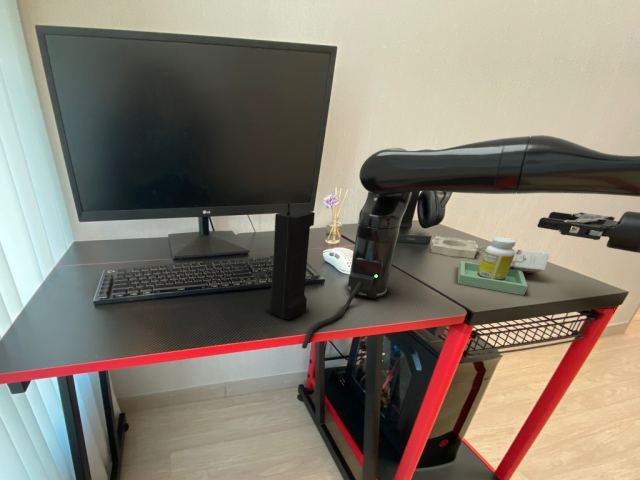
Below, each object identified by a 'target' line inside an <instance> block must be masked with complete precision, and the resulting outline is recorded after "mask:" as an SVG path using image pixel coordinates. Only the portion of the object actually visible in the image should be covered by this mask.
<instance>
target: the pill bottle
mask: <svg viewBox="0 0 640 480" xmlns="http://www.w3.org/2000/svg"><path fill="white" fill-rule="evenodd" d="M516 243H517V241H516V240H515V239H513V238H509V237H502V236H496V237H493V238H492V240H491V245H488V246H486V247H487V248H486V250H485V249H484V250H485V251H484V253H483V256H482V259H481V262H480V263H479V264H480V267H479V270H478V273H477V277H483V278H489V279H495V280H501V281H504V280H505V278H506V276H507V273H508V271H509V268H510V265H511V263H512V260H513V258H514V255H515V251H514V250H513V249H514V247H515V245H516Z"/></svg>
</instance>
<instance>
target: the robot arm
mask: <svg viewBox="0 0 640 480" xmlns="http://www.w3.org/2000/svg"><path fill="white" fill-rule="evenodd" d="M359 181H360V184H361V186H362V187H363V188H364V189H365V190H366V191H367V196H366V200H365V202H364V204H363V206H362V208H361V209H360V211H359V214H358V221H357V227H356V233H355V237H354V238H355V239H354V244H353V252H352V259H351V264H350V272H349V275H348V282H347V290H348V291H349V294H350V295H349V297H348V299H347V300H346V303H345V304H344V306H343V307H342V309H340V311H339V312H337V313H336V314H334V315H333V316H331V317H329V318H326V319H324V320H321V321H318V322H316V323H315V324H313V325H312V326H311V327H310V328H309V329H308V330H307V331H306V334H305V336H304V339H303V342H302V345H301V348H302V349H307V348H308V346H309V343H310V340H311V337H312V334H313V332H314V331H316V330H317V329H318V328H320V327H322V326H324V325H328V324H330V323H333V322H335V321H336V320H338V319H340V318H341V317H342V316H344V314H345V313H346V312H347V310H348V308H349V307H350V306H351V303H352V301H353V299H354V298H355V296H359V297H364V298H368V299H373V300H376V299H377V298H380V297H384V296H385V295H386V294H387V290H388V284H389V281H390V280H389V279H390V276H391V275H390V274H391V269H392V265H393V260H394V255H395V252H396V246H397V242H398V238H399V233H400V228H401V224H402V220H403V217H404V215H405V213H406V210H407V208H408V204H409V200H410V196H411V193H417V192H444V193H455V194H456V193H458V194H477V195H478V194H481V195H482V194H483V195H516V194H517V195H524V194H525V195H526V194H580V195H581V194H583V195H584V194H587V195H589V194H590V195H606V196H607V195H608V196H624V197H640V155H622V154H621V155H619V154H612V153H606V152H602V151H598V150H595V149H592V148H589V147H586V146H585V145H581V144H579V143H575V142H573V141H570V140H567V139H564V138H561V137H558V136H557V137H556V136H553V135H545V134H540V135H539V134H538V135H537V134H536V135H531V136H530V135H526V136H525V135H524V136H513V137H502V138H496V139H489V140H482V141H477V142H472V143H466V144H461V145H457V146H452V147H446V148H441V149H434V150H433V149H432V150H407V149H405V148H403V147H390V148H383V149H380V150H377V151H375V152H374V153H372V154H371V155H370V156H369V157H367V158H366V159H365V160H364V162H363V164H361V167H360V170H359ZM615 219H616V217H614V216H612V215H610V216H607V215H601V214H593V213H585V212H574V213H568V212H559V211H551V212H550V213H549V215H548V217H545V216H543V217H541V218H540V219H539V220H538V223H537V225H536V226H537V227H538V228H540V229H546V230H552V231H558V233H559V234H560V235H562V236H570V237H577V238H582V239H589V240H593V241H599V240H601V238H602V237H605V238H606V237H607V238H608V240H607V242H606V247H607V248H608V249H613V250H618V251H625V252H631V253H637V254H640V212H638V211H631V210H629V211H625V212H623V214H622V215H621V216H620V218H619V220H615Z"/></svg>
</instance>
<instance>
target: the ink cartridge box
mask: <svg viewBox="0 0 640 480" xmlns="http://www.w3.org/2000/svg"><path fill="white" fill-rule="evenodd" d="M487 247H488V246H480V247H478V249H477V250H476V251H477V252H485V250H486V248H487ZM512 249H513V250H514V251H515V255H514V258H513V260H512V263H511V265H510V268H512V269H518V270H522V272H523V273H527V274H535V273H540V272H544V271H546V267H547V264H548V260H549V256H550V253H549V252H545V251H544V252H543V251H535V250H525V249H516V248H512Z"/></svg>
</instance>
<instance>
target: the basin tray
mask: <svg viewBox="0 0 640 480" xmlns="http://www.w3.org/2000/svg"><path fill="white" fill-rule="evenodd" d="M480 264H481V263H477V262H470V261H465V260H460V263H459V266H458V270H457V284H458V285H464V286H469V287H474V288H480V289H487V290H491V291H498V292H503V293H509V294H514V295H519V296H520V295H521V296H525V294H526V292H527V289H528V288H529V285H528V283H527V280H526V278H525V274H524V272H522V270H518V269H512V268H509V271H508V273H507V276H506V278H505V280H504V281H501V280H495V279H489V278H483V277H477V273H478V270H479V267H480Z"/></svg>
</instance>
